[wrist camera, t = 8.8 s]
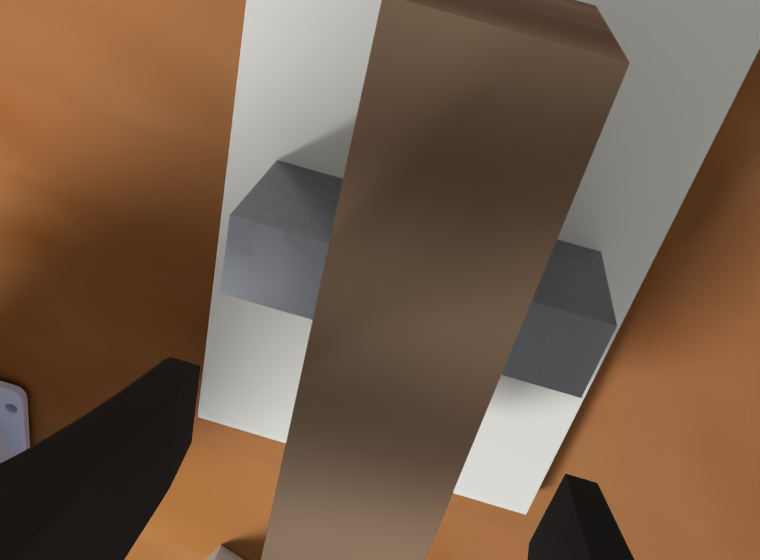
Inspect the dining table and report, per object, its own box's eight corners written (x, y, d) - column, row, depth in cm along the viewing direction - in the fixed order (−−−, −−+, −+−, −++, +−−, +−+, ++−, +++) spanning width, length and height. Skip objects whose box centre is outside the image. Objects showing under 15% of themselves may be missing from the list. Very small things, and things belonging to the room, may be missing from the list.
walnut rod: (402, 528, 22) (374, 683, 18) (296, 495, 22) (242, 642, 18) (596, 6, 14) (629, 62, 10) (424, -42, 14) (382, -6, 10)
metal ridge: (571, 317, 22) (581, 397, 18) (266, 228, 22) (219, 293, 19) (600, 251, 21) (617, 325, 17) (277, 160, 21) (229, 214, 18)
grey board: (525, 494, 27) (525, 514, 26) (207, 400, 28) (197, 417, 27) (797, -60, 17) (812, -56, 16) (282, -196, 17) (269, -200, 16)
